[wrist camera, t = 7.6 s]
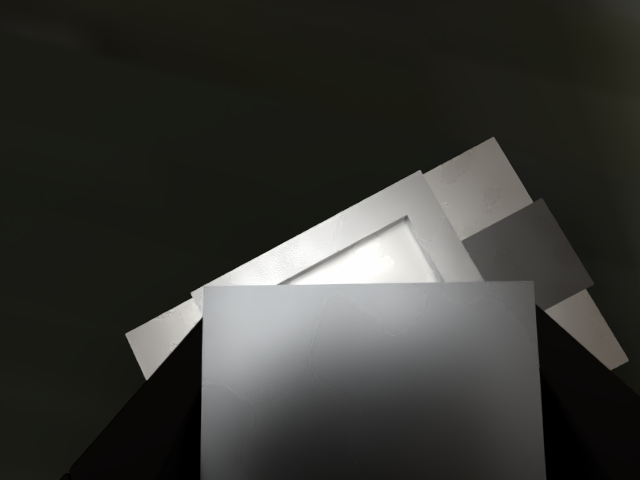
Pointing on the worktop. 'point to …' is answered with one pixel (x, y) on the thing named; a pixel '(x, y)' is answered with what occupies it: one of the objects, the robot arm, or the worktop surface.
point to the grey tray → (423, 251)
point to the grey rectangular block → (371, 382)
